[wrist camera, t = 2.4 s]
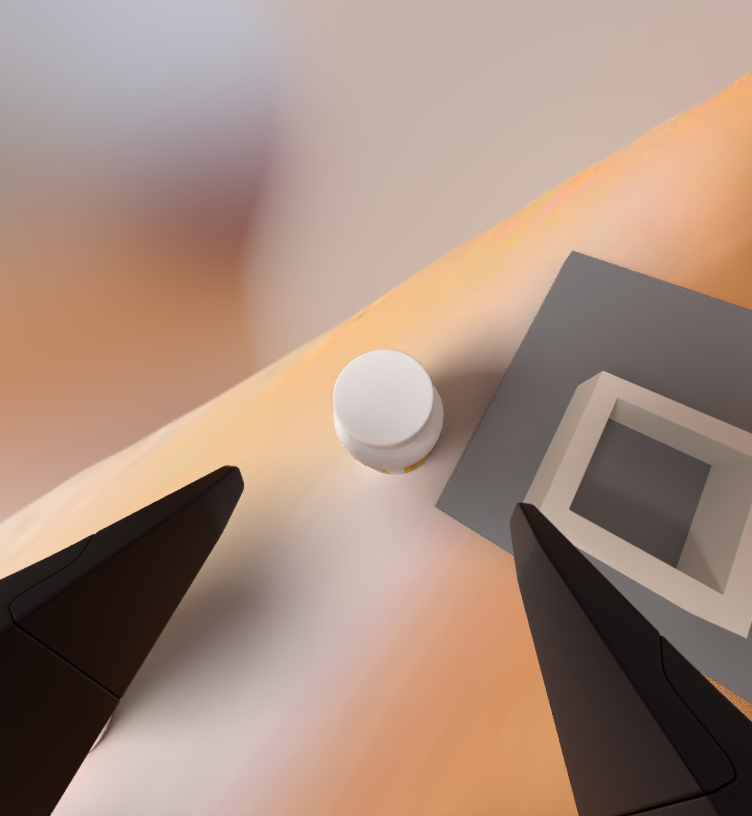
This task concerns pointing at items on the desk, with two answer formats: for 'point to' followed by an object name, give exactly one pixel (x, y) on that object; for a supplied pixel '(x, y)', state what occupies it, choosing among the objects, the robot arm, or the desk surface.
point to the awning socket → (631, 452)
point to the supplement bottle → (387, 411)
